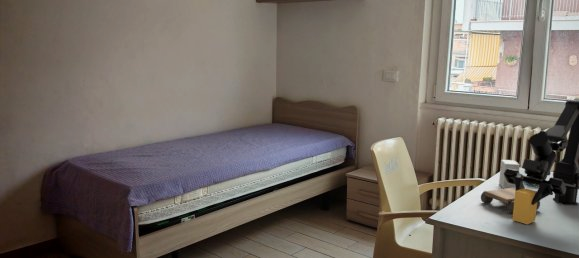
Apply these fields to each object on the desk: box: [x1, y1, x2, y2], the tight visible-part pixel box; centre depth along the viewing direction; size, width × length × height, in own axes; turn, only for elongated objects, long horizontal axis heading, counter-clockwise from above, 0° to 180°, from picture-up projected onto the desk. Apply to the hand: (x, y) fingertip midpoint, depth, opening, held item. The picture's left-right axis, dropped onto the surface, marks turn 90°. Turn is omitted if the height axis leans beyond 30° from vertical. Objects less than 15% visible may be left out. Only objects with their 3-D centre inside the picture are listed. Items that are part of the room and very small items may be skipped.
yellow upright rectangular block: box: [512, 187, 538, 225], centre depth 164 cm, size 6×5×10 cm
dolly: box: [480, 188, 541, 215], centre depth 180 cm, size 14×14×5 cm
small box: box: [498, 159, 520, 189], centre depth 205 cm, size 8×6×10 cm
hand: (523, 202), depth 163 cm, fingers closed on yellow upright rectangular block, 5 cm apart
